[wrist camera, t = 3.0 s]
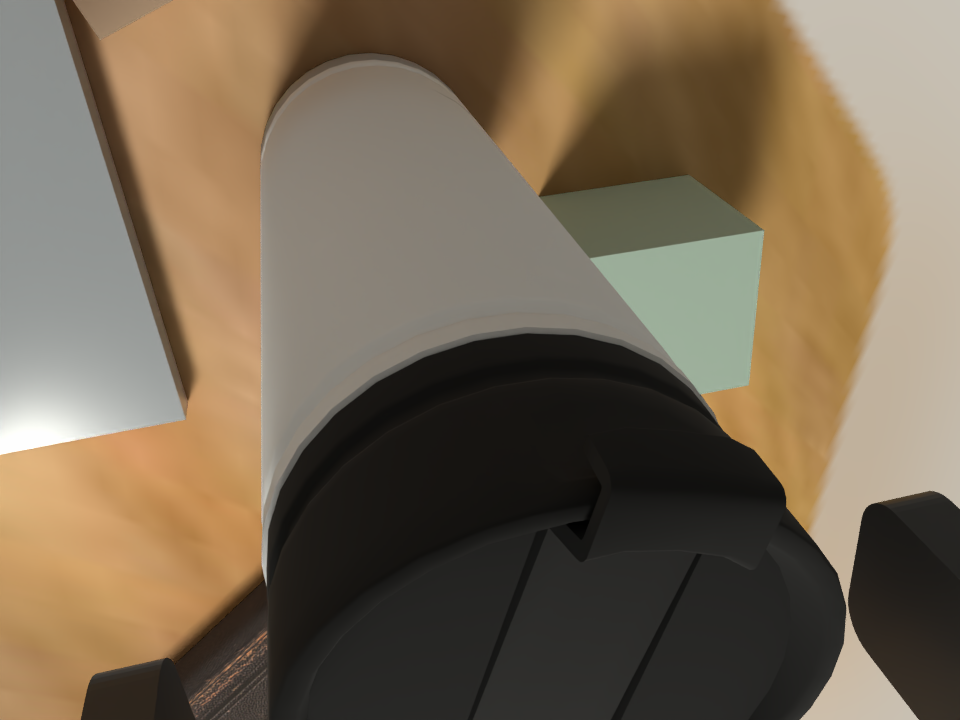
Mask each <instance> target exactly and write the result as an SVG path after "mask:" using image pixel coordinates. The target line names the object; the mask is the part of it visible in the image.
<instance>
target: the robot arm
mask: <svg viewBox="0 0 960 720" xmlns="http://www.w3.org/2000/svg"><path fill="white" fill-rule="evenodd" d="M848 606H849V613H850V617H851V621H852V624H853V627H854V630H855V632H856V634H857V636H858V638H859V641H860V642H861V644H862V646H863V647H864V648H865V650H866V651H867V653H868V654H869V655H870V657H871V658H872V659H873V661H874V662H875V663H876V665H877V666H878V667H879V668H880V670H881V671H882V672H883V674H884V675H885V676H886V678H887V679H888V680H889V681H890V683H891V684H892V685H893V687H894V688H895V689H896V690H897V692H898V693H899V694H900V696H901V697H902V698H903V700H904V701H905V702H906V704H907V705H908V706H909V707H910V709H911V710H912V711H913V713H914V714H915V715H916V717H917V718H918V719H919V720H960V509H959V508H958V507H957V506H956V505H955V504H954V503H952V502H951V501H950V500H949V499H948V498H946V497H945V496H944V495H942V494H940V493H937V492H934V491H928V492H923V493H919V494H914V495H910V496H905V497H901V498H896V499H892V500H888V501H883V502H878V503H874V504H871V505H869V506H868V507H867V508H866V509H865V511H864V513H863V516H862V521H861V526H860V532H859V538H858V544H857V550H856V555H855V561H854V566H853V572H852V578H851V583H850V589H849V597H848ZM81 720H196V719H195V717H194V714H193V711H192V709H191V706H190V704H189V701H188V698H187V696H186V693H185V690H184V688H183V685H182V683H181V680H180V677H179V675H178V672H177V670H176V667H175V665H174V663H173V662H172V660H171V659H169V658H165V659H160V660H156V661H151V662H147V663H142V664H138V665H133V666H129V667H124V668H120V669H115V670H111V671H106V672H102V673H97V674H95V675H94V676H93V677H92V679H91V680H90V683H89V685H88V689H87V693H86V698H85V702H84V707H83V712H82V716H81Z"/></svg>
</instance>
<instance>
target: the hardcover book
mask: <svg viewBox="0 0 960 720" xmlns="http://www.w3.org/2000/svg"><path fill="white" fill-rule="evenodd" d="M267 621H268V601H267V586H266V582H265V580H264V581H263V582H262V583H261V584H260V585H259V586H258V587H257V588H256V589H255V590H254V591H252V592H251V593H250V594H249V595H248V596H247V597H246V598H245V599H244V600H243V601H242V602H241V603H240V604H239V605H238V606H237V607H235V608H234V609H233V610H232V611H231V612H230V613H229V614H228V615H227V616H226V617H225V618H224V619H223V620H222V621H221V622H220V623H218V624H217V625H216V626H215V627H214V628H213V629H212V630H211V631H210V632H209V633H208V634H207V635H206V636H205V637H204V638H203V639H201V640H200V641H199V642H198V643H197V644H196V645H195V646H194V647H193V648H192V649H191V650H190V651H189V652H188V653H187V654H185V655H184V656H183V657H182V658H181V659H180V660H179V661H178V662H177V663H176V664H175V667H176V670H177V672H178V675H179V677H180V680H181V683H182V685H183V688H184V690H185V693H186V696H187V698H188V701H189V704H190V706H191V709H192V711H193V714H194V717H195V719H196V720H268V675H267Z"/></svg>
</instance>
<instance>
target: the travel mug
mask: <svg viewBox="0 0 960 720" xmlns="http://www.w3.org/2000/svg"><path fill="white" fill-rule="evenodd" d="M260 174H261V480H262V526H263V529H262V569H263V573H264V578H265V582H266V586H267V601H268V621H267V675H268V720H800V719H801V718H802V716H803V715H804V714H805V713H806V712H807V711H808V710H809V709H810V708H811V706H812V705H813V703H814V702H815V700H816V699H817V697H818V696H819V694H820V693H821V691H822V690H823V688H824V686H825V685H826V683H827V682H828V680H829V679H830V677H831V676H832V673H833V670H834V667H835V665H836V662H837V660H838V657H839V654H840V652H841V649H842V646H843V644H844V632H845V618H846V604H845V600H844V596H843V592H842V589H841V585H840V582H839V578H838V574H837V572H836V571H835V569H834V568H833V567H832V565H831V564H830V562H829V561H828V560H827V558H826V557H825V555H824V554H823V553H822V551H821V550H820V548H819V547H818V546H817V544H816V543H815V542H814V541H813V539H812V538H811V537H810V536H809V535H808V533H807V532H806V531H805V530H804V528H803V527H802V526H801V525H800V524H799V522H798V521H797V520H796V519H795V517H794V516H793V515H792V514H791V513H790V511H789V510H788V509H787V508H786V495H785V491H784V488H783V486H782V484H781V483H780V482H779V480H778V479H777V478H776V477H775V475H774V474H773V473H772V472H771V470H770V469H769V468H768V467H767V465H766V464H765V463H764V462H763V460H762V459H761V458H760V457H759V455H758V454H757V453H756V452H755V450H753V449H751V448H749V447H747V446H745V445H743V444H741V443H739V442H737V441H735V440H733V439H731V438H730V437H729V435H728V434H726V433H725V432H724V431H723V430H722V428H721V427H720V426H719V424H718V422H717V419H716V417H715V414H714V412H713V411H712V410H711V408H710V407H709V406H708V404H707V403H706V402H705V400H704V399H703V397H702V396H701V395H700V393H699V392H698V391H697V389H696V388H695V387H694V385H693V384H692V383H691V381H690V380H689V379H688V378H687V376H686V375H685V374H684V373H683V372H682V370H681V369H679V368H678V367H677V366H676V364H675V363H674V362H673V360H672V359H671V358H670V356H669V355H668V354H667V352H666V351H665V350H664V348H663V347H662V346H661V345H660V344H659V342H658V341H657V340H656V339H655V337H654V336H653V335H652V334H651V333H650V331H649V330H648V329H647V328H646V327H645V325H644V324H643V323H642V322H641V320H640V319H639V318H638V317H637V316H636V314H635V313H634V312H633V311H632V309H631V308H630V307H629V306H628V305H627V303H626V302H625V301H624V300H623V299H622V297H621V296H620V295H619V294H618V292H617V291H616V290H615V289H614V288H613V286H612V285H611V284H610V283H609V281H608V280H607V279H606V278H605V277H604V275H603V274H602V273H601V272H600V271H599V269H598V268H597V267H596V266H595V264H594V263H593V262H592V261H591V260H590V258H589V257H588V256H587V255H586V253H585V252H584V251H583V250H582V249H581V247H580V246H579V245H578V244H577V242H576V241H575V240H574V239H573V238H572V236H571V235H570V234H569V233H568V232H567V230H566V229H565V228H564V227H563V225H562V224H561V223H560V222H559V221H558V219H557V218H556V217H555V216H554V214H553V213H552V212H551V211H550V210H549V208H548V207H547V206H546V205H545V204H544V202H543V201H542V200H541V199H540V197H539V196H538V195H537V194H536V193H535V191H534V190H533V189H532V188H531V186H530V185H529V184H528V183H527V182H526V180H525V179H524V178H523V177H522V176H521V174H520V173H519V172H518V171H517V169H516V168H515V167H514V166H513V165H512V163H511V162H510V161H509V160H508V158H507V157H506V156H505V155H504V154H503V152H502V151H501V150H500V149H499V148H498V146H497V145H496V144H495V143H494V141H493V140H492V139H491V138H490V137H489V135H488V134H487V133H486V132H485V130H484V129H483V128H482V127H481V126H480V124H479V123H478V122H477V121H476V120H475V118H474V117H473V116H472V115H471V113H470V112H469V111H468V110H467V109H466V107H465V106H464V105H463V104H462V102H461V101H460V100H459V99H458V98H457V96H456V95H455V94H454V93H453V91H452V90H451V89H450V88H449V87H448V86H447V85H446V84H445V83H443V82H442V81H441V80H440V79H439V78H438V77H437V76H436V75H434V74H433V73H432V72H430V71H428V70H426V69H425V68H423V67H421V66H419V65H418V64H416V63H414V62H411V61H408V60H405V59H402V58H399V57H396V56H393V55H384V54H376V53H364V54H353V55H346V56H343V57H340V58H336V59H333V60H330V61H326V62H325V63H323V64H321V65H319V66H317V67H315V68H314V69H312V70H310V71H308V72H306V73H305V74H304V75H303V76H302V77H300V78H299V79H298V80H297V81H296V82H295V83H293V84H292V85H291V86H290V87H289V88H288V89H287V91H286V92H285V93H284V95H283V96H282V97H281V99H280V100H279V101H278V102H277V104H276V105H275V107H274V109H273V112H272V114H271V116H270V118H269V120H268V122H267V124H266V128H265V132H264V136H263V140H262V144H261V166H260Z"/></svg>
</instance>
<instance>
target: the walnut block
mask: <svg viewBox="0 0 960 720" xmlns="http://www.w3.org/2000/svg"><path fill="white" fill-rule="evenodd" d="M73 1H74V3H75V4H76V6H77V7H78V9H79V10H80V12H81V13H82V15H83V16H84V17H85V19H86V20H87V22H88V23H89V25H90V26H91V28H92V29H93V31H94V32H95V33H96V35H97V36H98V38H99V39H100V40H102V39H103V38H105V37H107V36H109V35H111V34H112V33H114V32H116V31H118V30H120V29H121V28H123V27H125V26H127V25H129V24H131V23H132V22H134V21H136V20H138V19H140V18H141V17H143V16H145V15H147V14H149V13H150V12H152V11H154V10H156V9H158V8H160V7H161V6H163V5H165V4H167V3H169V2H170V1H172V0H73Z"/></svg>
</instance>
